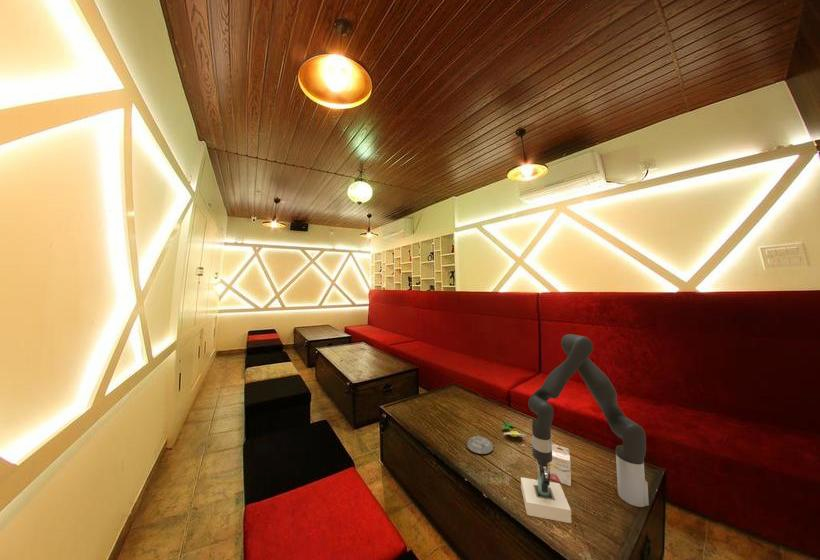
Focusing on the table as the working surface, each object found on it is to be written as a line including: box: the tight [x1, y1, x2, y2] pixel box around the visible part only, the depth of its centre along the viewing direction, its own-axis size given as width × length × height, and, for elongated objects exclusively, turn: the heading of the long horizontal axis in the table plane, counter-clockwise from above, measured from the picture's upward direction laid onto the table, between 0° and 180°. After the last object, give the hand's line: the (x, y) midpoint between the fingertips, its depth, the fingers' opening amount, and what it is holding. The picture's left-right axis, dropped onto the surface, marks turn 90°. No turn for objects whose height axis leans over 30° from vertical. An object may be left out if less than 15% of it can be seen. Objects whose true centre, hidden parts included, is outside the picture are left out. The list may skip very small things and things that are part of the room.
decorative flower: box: [501, 418, 527, 438], centre depth 162 cm, size 13×5×30 cm
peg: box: [536, 465, 549, 498], centre depth 107 cm, size 4×4×12 cm
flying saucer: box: [466, 435, 494, 455], centre depth 147 cm, size 15×15×6 cm
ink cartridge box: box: [549, 443, 572, 487], centre depth 121 cm, size 9×5×15 cm, turn 58°
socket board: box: [520, 476, 572, 524], centre depth 107 cm, size 16×14×5 cm
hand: (543, 487), depth 107 cm, fingers closed on peg, 4 cm apart
